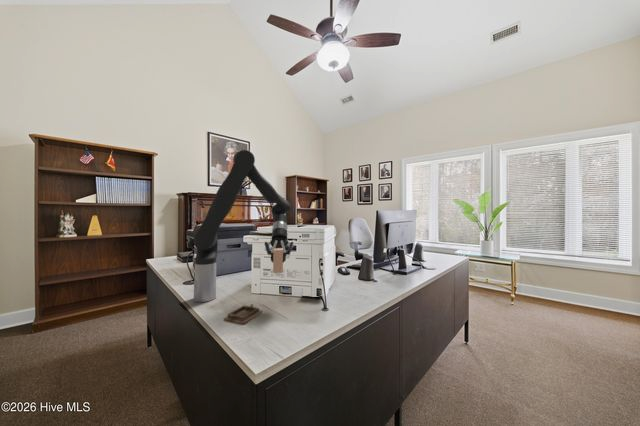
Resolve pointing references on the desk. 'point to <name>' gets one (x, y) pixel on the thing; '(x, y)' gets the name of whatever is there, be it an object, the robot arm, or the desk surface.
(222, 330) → the desk surface
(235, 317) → the walnut cradle
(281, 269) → the terracotta block
